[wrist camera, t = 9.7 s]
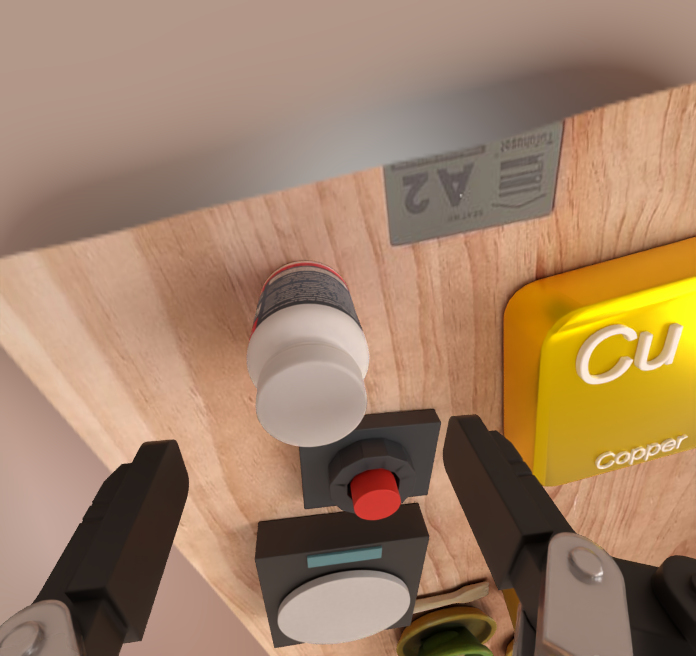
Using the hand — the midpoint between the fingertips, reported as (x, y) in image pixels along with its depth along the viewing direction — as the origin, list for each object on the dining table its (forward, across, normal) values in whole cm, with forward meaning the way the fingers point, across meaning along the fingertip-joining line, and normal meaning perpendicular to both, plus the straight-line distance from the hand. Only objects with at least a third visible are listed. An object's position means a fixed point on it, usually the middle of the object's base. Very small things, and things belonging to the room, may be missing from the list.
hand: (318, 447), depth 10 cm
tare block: (+11, -4, +13) cm, 18 cm away
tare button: (+8, -4, +13) cm, 16 cm away
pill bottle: (+11, 0, 0) cm, 11 cm away
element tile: (+11, -21, +5) cm, 24 cm away
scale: (+11, -2, +28) cm, 30 cm away
